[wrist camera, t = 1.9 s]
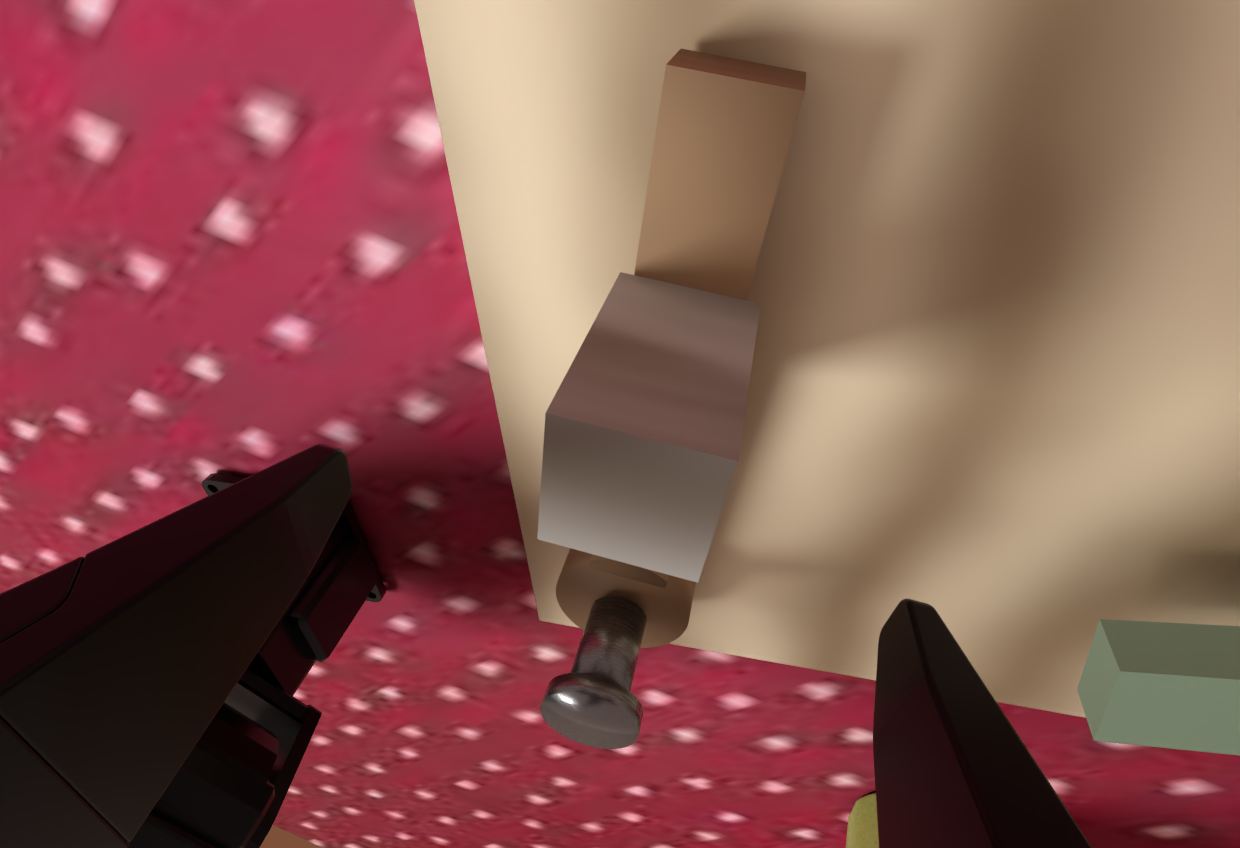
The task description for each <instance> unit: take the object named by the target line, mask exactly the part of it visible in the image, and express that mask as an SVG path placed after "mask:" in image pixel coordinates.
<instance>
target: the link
mask: <svg viewBox="0 0 1240 848" xmlns="http://www.w3.org/2000/svg"><path fill="white" fill-rule="evenodd" d="M805 86H806V72H803V71H797V70H792V69H787V68H782V67H776V66H771V65H766V64H760V63H755V62H750V61H745V60H739V59H734V58H729V57H723V56H718V55H713V54H708V53H702V52H697V51H692V50H686V49H680V50H679V51H678V52H677V53H676V54H675V55H674V56H673V58H672V59H671V60H670V61H669V62H668V63H667V64H666V68H665V75H664V81H663V88H662V95H661V101H660V108H659V114H658V121H657V128H656V134H655V141H654V147H653V154H652V160H651V167H650V174H649V180H648V187H647V193H646V200H645V207H644V213H643V220H642V226H641V233H640V240H639V246H638V253H637V259H636V266H635V272H634V275H631V274H627V273H622V272H620V274H619V275H618V277H617V279H616V281H615V283H614V285H613V287H612V289H611V291H610V292H609V294H608V296H607V298H606V300H605V302H604V304H603V306H602V308H601V309H600V311H599V313H598V315H597V317H596V319H595V321H594V323H593V324H592V326H591V328H590V330H589V332H588V334H587V336H586V338H585V340H584V341H583V343H582V345H581V347H580V349H579V351H578V353H577V355H576V356H575V358H574V360H573V362H572V364H571V366H570V368H569V370H568V372H567V373H566V375H565V377H564V379H563V381H562V383H561V385H560V387H559V389H558V390H557V392H556V394H555V396H554V398H553V400H552V402H551V404H550V405H549V407H548V409H547V411H546V414H545V429H544V444H543V459H542V475H541V490H540V505H539V520H538V536H537V539H538V540H542V541H546V542H549V543H553V544H557V545H560V546H564V547H568V548H570V550H569V553H568V555H567V558H566V560H565V563H564V566H563V568H562V571H561V573H560V576H559V579H558V581H557V585H556V597H557V601H558V603H559V606H560V607H561V609H562V611H563V612H564V613H565V615H566V616H567V617H568V618H569V619H570V620H571V621H572V622H573V623H574V624H576V625H577V626H578V627H580V628H581V629H582V630H584V629H585V626H586V623H587V620H588V617H589V613H590V610H591V607H592V604H593V603H594V601H595V600H597V599H598V598H601V597H604V596H618V597H622V598H626V599H628V600H630V601H632V602H634V603H636V604H637V605H639V606H640V607H641V608H642V609H643V611H644V612H645V614H646V617H647V622H646V626H645V630H644V634H643V639H642V643H641V647H640V648H649V647H657V646H662V645H665V644H668V643H670V642H672V641H674V640H676V639H677V638H679V637H680V636H681V635H682V634H683V633H684V632H685V630H686V628H687V626H688V623H689V618H690V612H691V607H692V601H693V596H694V590H695V584H696V582H697V583H698V581H699V578H700V575H701V572H702V569H703V566H704V563H705V560H706V557H707V554H708V551H709V548H710V545H711V542H712V539H713V536H714V533H715V530H716V527H717V524H718V521H719V518H720V515H721V512H722V509H723V506H724V503H725V500H726V497H727V494H728V491H729V488H730V485H731V482H732V479H733V476H734V473H735V470H736V467H737V464H738V460H739V453H740V446H741V439H742V432H743V425H744V418H745V411H746V404H747V396H748V389H749V382H750V375H751V368H752V361H753V354H754V347H755V340H756V333H757V326H758V319H759V312H760V305H761V304H760V303H755V302H751V301H746V300H747V296H748V293H749V289H750V286H751V282H752V278H753V275H754V271H755V268H756V264H757V261H758V257H759V254H760V250H761V246H762V243H763V239H764V236H765V232H766V229H767V225H768V222H769V218H770V214H771V211H772V207H773V204H774V200H775V197H776V193H777V190H778V186H779V182H780V179H781V175H782V172H783V168H784V165H785V161H786V158H787V154H788V150H789V147H790V143H791V140H792V136H793V133H794V129H795V126H796V122H797V118H798V115H799V111H800V108H801V104H802V101H803V97H804V94H805Z"/></svg>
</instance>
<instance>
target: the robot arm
mask: <svg viewBox="0 0 1240 848" xmlns="http://www.w3.org/2000/svg"><path fill="white" fill-rule="evenodd" d="M202 486H203V488H204V490H205V492H206V493H207V495H208V496H207V497H205V498H203V499H201V500H199V501H197V502H195V503H193V504H191V505H189V506H186V507H184V508H182V509H180V510H178V511H176V512H174V513H172V514H170V515H168V516H165V517H163V518H161V519H159V520H157V521H155V522H153V523H151V524H149V525H146V526H144V527H142V528H140V529H138V530H136V531H134V532H132V533H130V534H128V535H125V536H123V537H121V538H119V539H117V540H115V541H113V542H111V543H109V544H107V545H104V546H102V547H100V548H98V549H96V550H94V551H92V552H90V553H88V554H86V556H85V558H84V557H79V558H77V559H75V560H73V561H70V562H68V563H66V564H64V565H62V566H60V567H58V568H56V569H54V570H51V571H49V572H47V573H45V574H43V575H41V576H38V577H36V578H34V579H32V580H30V581H27V582H25V583H23V584H21V585H19V586H16V587H14V588H12V589H10V590H8V591H5V592H3V593H0V848H259V847H260V846H261V844H262V842H263V840H264V839H265V837H266V835H267V834H268V832H269V830H270V828H271V826H272V824H273V822H274V820H275V818H276V816H277V814H278V812H279V809H280V807H281V805H282V803H283V800H284V798H285V796H286V793H287V791H288V789H289V787H290V784H291V782H292V780H293V778H294V775H295V773H296V771H297V769H298V766H299V764H300V762H301V760H302V757H303V755H304V753H305V751H306V748H307V746H308V744H309V742H310V739H311V737H312V735H313V733H314V730H315V728H316V726H317V723H318V721H319V719H320V717H321V714H322V712H320V711H319V710H317V709H316V708H314V707H313V706H311V705H305V704H304V703H302V702H301V701H299V700H298V699H296V698H294V697H293V695H294V693H295V692H296V690H297V689H298V687H299V686H300V684H301V683H302V681H303V680H304V678H305V677H306V675H307V674H308V672H309V671H310V669H311V668H312V666H313V664H314V663H315V661H318V662H323V661H325V660H326V659H327V658H328V657H329V656H330V654H331V653H332V651H333V650H334V648H335V647H336V645H337V643H338V642H339V640H340V639H341V637H342V636H343V634H344V633H345V631H346V629H347V628H348V626H349V625H350V623H351V622H352V620H353V619H354V617H355V616H356V614H357V612H358V611H359V609H360V608H361V606H362V605H363V603H364V602H365V600H366V601H372V602H379V601H381V599H382V598H383V596H384V595H385V593H386V589H385V587H384V584H383V582H382V580H381V577H380V575H379V572H378V570H377V568H376V565H375V563H374V561H373V558H372V556H371V553H370V551H369V549H368V546H367V544H366V542H365V539H364V537H363V534H362V532H361V530H360V527H359V525H358V523H357V520H356V518H355V515H354V513H353V511H352V508H351V506H350V504H349V501H348V500H349V498H350V495H351V492H352V480H351V475H350V470H349V465H348V460H347V455H346V453H345V452H344V450H342V449H340V448H336V447H332V446H329V445H325V444H318V445H315V446H313V447H310V448H308V449H306V450H304V451H302V452H300V453H298V454H296V455H294V456H292V457H289V458H287V459H285V460H283V461H281V462H279V463H277V464H275V465H273V466H271V467H268V468H266V469H264V470H262V471H260V472H258V473H256V474H254V475H252V476H249V477H247V478H243V477H236V476H229V475H222V474H210V475H209V476H208V477H207V478H206V479H205V480H204V481H202ZM873 753H874V770H875V787H876V804H877V821H878V838H879V848H1092V847H1091V846H1090V844H1089V843H1088V841H1087V839H1086V838H1085V836H1084V835H1083V833H1082V832H1081V830H1080V829H1079V827H1078V826H1077V824H1076V823H1075V821H1074V820H1073V818H1072V817H1071V815H1070V814H1069V812H1068V810H1067V809H1066V807H1065V806H1064V804H1063V803H1062V801H1061V800H1060V798H1059V797H1058V795H1057V794H1056V792H1055V791H1054V789H1053V788H1052V786H1051V785H1050V783H1049V782H1048V780H1047V778H1046V777H1045V775H1044V774H1043V772H1042V771H1041V769H1040V768H1039V766H1038V765H1037V763H1036V762H1035V760H1034V759H1033V757H1032V756H1031V754H1030V753H1029V751H1028V750H1027V748H1026V746H1025V745H1024V743H1023V742H1022V740H1021V739H1020V737H1019V736H1018V734H1017V733H1016V731H1015V730H1014V728H1013V727H1012V725H1011V724H1010V722H1009V721H1008V719H1007V717H1006V716H1005V714H1004V713H1003V711H1002V710H1001V708H1000V707H999V705H998V704H997V702H996V701H995V699H994V698H993V696H992V695H991V693H990V692H989V690H988V689H987V687H986V685H985V684H984V682H983V681H982V679H981V678H980V676H979V675H978V673H977V672H976V670H975V669H974V667H973V666H972V664H971V663H970V661H969V660H968V658H967V656H966V655H965V653H964V652H963V650H962V649H961V647H960V646H959V644H958V643H957V641H956V640H955V638H954V637H953V635H952V634H951V632H950V631H949V629H948V628H947V626H946V624H945V623H944V621H943V620H942V618H941V617H940V615H939V614H938V612H937V611H936V609H935V608H934V607H933V606H931V605H930V604H927V603H923V602H920V601H916V600H912V599H907V598H905V599H903V600H901V601H900V602H899V604H898V605H897V606H896V608H895V609H894V611H893V612H892V614H891V615H890V617H889V618H888V620H887V621H886V623H885V624H884V626H883V627H882V629H881V632H880V635H879V640H878V655H877V672H876V689H875V706H874V725H873Z"/></svg>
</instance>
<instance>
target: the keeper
mask: <svg viewBox="0 0 1240 848" xmlns="http://www.w3.org/2000/svg"><path fill="white" fill-rule="evenodd" d="M1077 691H1078V694H1079V697H1080V700H1081V703H1082V706H1083V709H1084V712H1085V715H1086V718H1087V722H1088V725H1089V728H1090V731H1091V734H1092V737H1093V740H1094V741H1102V742H1111V743H1121V744H1131V745H1141V746H1151V747H1161V748H1171V749H1181V750H1191V751H1201V752H1211V753H1221V754H1231V755H1240V626H1225V625H1206V624H1186V623H1167V622H1147V621H1128V620H1108V619H1100V620H1099V623H1098V626H1097V629H1096V632H1095V635H1094V638H1093V641H1092V645H1091V648H1090V651H1089V654H1088V657H1087V660H1086V663H1085V666H1084V669H1083V672H1082V675H1081V679H1080V682H1079V685H1078V688H1077Z"/></svg>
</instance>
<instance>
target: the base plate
mask: <svg viewBox="0 0 1240 848" xmlns="http://www.w3.org/2000/svg"><path fill="white" fill-rule="evenodd" d="M414 2H415V7H416V12H417V17H418V22H419V27H420V31H421V36H422V41H423V46H424V51H425V56H426V61H427V66H428V71H429V76H430V81H431V86H432V91H433V96H434V101H435V106H436V111H437V116H438V121H439V126H440V131H441V135H442V140H443V145H444V150H445V155H446V160H447V165H448V170H449V175H450V180H451V185H452V190H453V195H454V200H455V205H456V210H457V215H458V220H459V225H460V230H461V234H462V239H463V244H464V249H465V254H466V259H467V264H468V269H469V274H470V279H471V284H472V289H473V294H474V299H475V304H476V309H477V314H478V319H479V324H480V329H481V334H482V338H483V343H484V348H485V353H486V358H487V363H488V368H489V373H490V378H491V383H492V388H493V393H494V398H495V403H496V408H497V413H498V418H499V423H500V428H501V433H502V438H503V442H504V447H505V452H506V457H507V462H508V467H509V472H510V477H511V482H512V487H513V492H514V497H515V502H516V507H517V512H518V517H519V522H520V527H521V532H522V537H523V541H524V546H525V551H526V556H527V561H528V566H529V571H530V576H531V581H532V586H533V591H534V596H535V601H536V606H537V611H538V616H539V621H545V622H550V623H556V624H562V625H567V626H573V627H578V626H577V625H576V624H574V623H573V622H572V621H571V620H570V619H569V618H568V617H567V616H566V615H565V613H564V612H563V611H562V609H561V607H560V606H559V603H558V601H557V597H556V585H557V581H558V579H559V576H560V573H561V571H562V568H563V566H564V563H565V560H566V558H567V555H568V553H569V550H570V548H568V547H564V546H560V545H557V544H553V543H549V542H546V541H542V540H538V539H537V536H538V520H539V505H540V490H541V475H542V459H543V444H544V429H545V414H546V411H547V409H548V407H549V405H550V404H551V402H552V400H553V398H554V396H555V394H556V392H557V390H558V389H559V387H560V385H561V383H562V381H563V379H564V377H565V375H566V373H567V372H568V370H569V368H570V366H571V364H572V362H573V360H574V358H575V356H576V355H577V353H578V351H579V349H580V347H581V345H582V343H583V341H584V340H585V338H586V336H587V334H588V332H589V330H590V328H591V326H592V324H593V323H594V321H595V319H596V317H597V315H598V313H599V311H600V309H601V308H602V306H603V304H604V302H605V300H606V298H607V296H608V294H609V292H610V291H611V289H612V287H613V285H614V283H615V281H616V279H617V277H618V275H619V274H620V272H622V273H627V274H631V275H634V272H635V266H636V259H637V253H638V246H639V240H640V233H641V226H642V220H643V213H644V207H645V200H646V193H647V187H648V180H649V174H650V167H651V160H652V154H653V147H654V141H655V134H656V128H657V121H658V114H659V108H660V101H661V95H662V88H663V81H664V75H665V68H666V64H667V63H668V62H669V61H670V60H671V59H672V58H673V56H674V55H675V54H676V53H677V52H678V51H679V50H680V49H686V50H692V51H697V52H702V53H708V54H713V55H718V56H723V57H729V58H734V59H739V60H745V61H750V62H755V63H760V64H766V65H771V66H776V67H782V68H787V69H792V70H797V71H803V72H806V86H805V94H804V97H803V101H802V104H801V108H800V111H799V115H798V118H797V122H796V126H795V129H794V133H793V136H792V140H791V143H790V147H789V150H788V154H787V158H786V161H785V165H784V168H783V172H782V175H781V179H780V182H779V186H778V190H777V193H776V197H775V200H774V204H773V207H772V211H771V214H770V218H769V222H768V225H767V229H766V232H765V236H764V239H763V243H762V246H761V250H760V254H759V257H758V261H757V264H756V268H755V271H754V275H753V278H752V282H751V286H750V289H749V293H748V296H747V300H746V301H751V302H755V303H760V304H761V305H760V312H759V319H758V326H757V333H756V340H755V347H754V354H753V361H752V368H751V375H750V382H749V389H748V396H747V404H746V411H745V418H744V425H743V432H742V439H741V446H740V453H739V460H738V464H737V467H736V470H735V473H734V476H733V479H732V482H731V485H730V488H729V491H728V494H727V497H726V500H725V503H724V506H723V509H722V512H721V515H720V518H719V521H718V524H717V527H716V530H715V533H714V536H713V539H712V542H711V545H710V548H709V551H708V554H707V557H706V560H705V563H704V566H703V569H702V572H701V575H700V578H699V581H698V583H697V582H696V584H695V590H694V596H693V601H692V607H691V612H690V618H689V623H688V626H687V628H686V630H685V632H684V633H683V634H682V635H681V636H680V637H679V638H677V639H676V640H674V641H672V642H670V643H669V644H674V645H680V646H685V647H691V648H697V649H702V650H708V651H714V652H719V653H725V654H730V655H736V656H742V657H747V658H753V659H759V660H764V661H770V662H775V663H781V664H787V665H792V666H798V667H804V668H809V669H815V670H820V671H826V672H832V673H837V674H843V675H849V676H854V677H860V678H865V679H871V680H876V672H877V655H878V640H879V635H880V632H881V629H882V627H883V626H884V624H885V623H886V621H887V620H888V618H889V617H890V615H891V614H892V612H893V611H894V609H895V608H896V606H897V605H898V604H899V602H900V601H901V600H903V599H905V598H907V599H912V600H916V601H920V602H923V603H927V604H930V605H931V606H933V607H934V608H935V609H936V611H937V612H938V614H939V615H940V617H941V618H942V620H943V621H944V623H945V624H946V626H947V628H948V629H949V631H950V632H951V634H952V635H953V637H954V638H955V640H956V641H957V643H958V644H959V646H960V647H961V649H962V650H963V652H964V653H965V655H966V656H967V658H968V660H969V661H970V663H971V664H972V666H973V667H974V669H975V670H976V672H977V673H978V675H979V676H980V678H981V679H982V681H983V682H984V684H985V685H986V687H987V689H988V690H989V692H990V693H991V695H992V696H993V698H994V699H995V701H996V702H1000V703H1006V704H1012V705H1017V706H1023V707H1029V708H1034V709H1040V710H1045V711H1051V712H1057V713H1062V714H1068V715H1074V716H1079V717H1085V718H1086V715H1085V712H1084V709H1083V706H1082V703H1081V700H1080V697H1079V694H1078V691H1077V688H1078V685H1079V682H1080V679H1081V675H1082V672H1083V669H1084V666H1085V663H1086V660H1087V657H1088V654H1089V651H1090V648H1091V645H1092V641H1093V638H1094V635H1095V632H1096V629H1097V626H1098V623H1099V620H1100V619H1108V620H1128V621H1147V622H1167V623H1186V624H1206V625H1225V626H1240V0H414ZM578 628H580V627H578Z"/></svg>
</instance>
